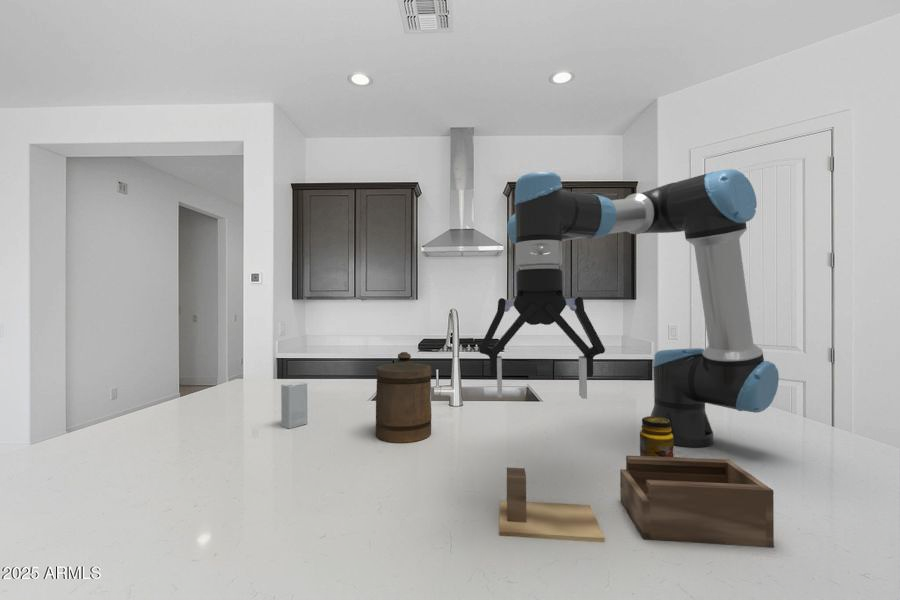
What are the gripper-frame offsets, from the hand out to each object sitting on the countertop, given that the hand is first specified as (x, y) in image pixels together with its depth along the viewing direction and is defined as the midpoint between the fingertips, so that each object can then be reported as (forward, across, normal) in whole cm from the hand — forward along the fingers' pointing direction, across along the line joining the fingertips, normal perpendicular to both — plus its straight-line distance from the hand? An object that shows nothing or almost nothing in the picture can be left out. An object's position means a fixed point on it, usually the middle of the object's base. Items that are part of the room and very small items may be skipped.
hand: (540, 396), depth 70 cm
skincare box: (+20, -66, +43) cm, 81 cm away
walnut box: (+20, +23, 0) cm, 31 cm away
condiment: (+20, +23, +18) cm, 35 cm away
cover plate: (+20, +1, -2) cm, 20 cm away
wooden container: (+20, -33, +39) cm, 55 cm away
